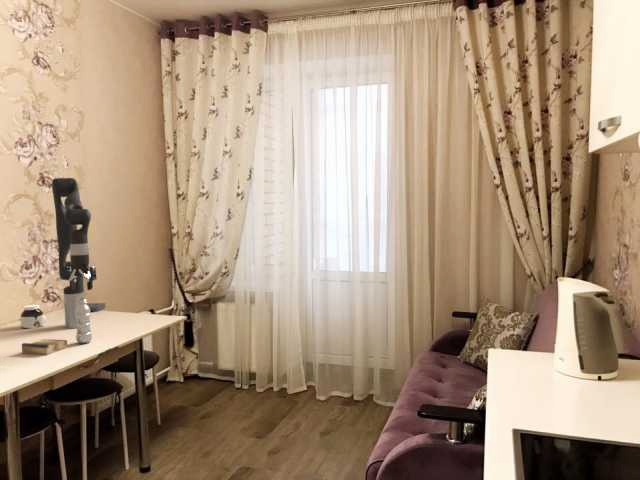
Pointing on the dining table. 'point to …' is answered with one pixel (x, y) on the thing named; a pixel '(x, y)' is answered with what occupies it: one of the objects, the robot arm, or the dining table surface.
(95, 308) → the streaming box
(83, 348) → the dining table surface
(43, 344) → the dock
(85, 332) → the plastic bottle
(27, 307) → the spread jar
